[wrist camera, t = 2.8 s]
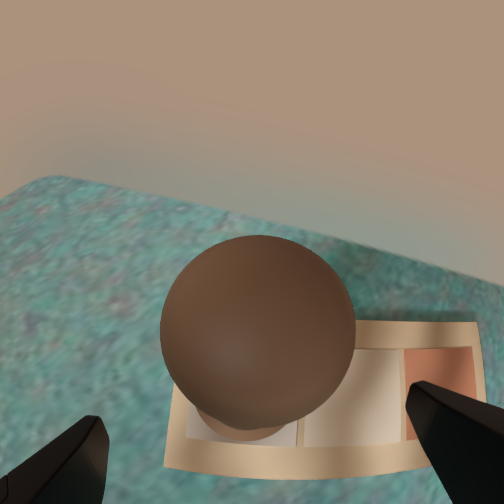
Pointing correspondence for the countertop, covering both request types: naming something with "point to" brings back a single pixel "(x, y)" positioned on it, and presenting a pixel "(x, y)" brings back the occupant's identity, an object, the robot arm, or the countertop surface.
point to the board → (344, 411)
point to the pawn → (257, 334)
